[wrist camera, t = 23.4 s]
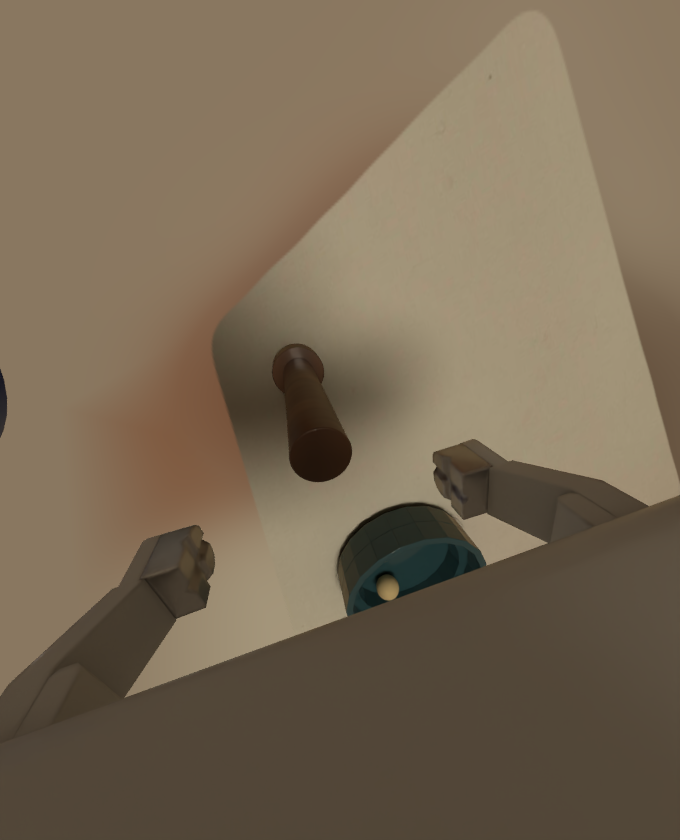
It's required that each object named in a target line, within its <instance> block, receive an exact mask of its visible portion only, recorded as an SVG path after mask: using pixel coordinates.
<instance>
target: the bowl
mask: <svg viewBox="0 0 680 840" xmlns="http://www.w3.org/2000/svg"><path fill="white" fill-rule="evenodd" d="M484 566H486V562H485V560H484V558H483V555H482V553H481V551H480V550H479V549H478V547H477V546H476V545H475V544H474V542H473V541H472V540H471V539H470V537H469V536H468V535H467V534H466V532H465V531H464V530H463V529H462V527H461V526H460V525H459V524H458V522H457V521H456V520H455V519H454V518H453V517H451V516H450V515H449V514H447V513H446V512H445V511H443V510H440V509H436V508H432V507H428V506H414V507H403V508H400V509H397V510H394V511H390V512H387V513H384V514H382V515H381V516H379V517H377V518H376V519H374V520H372V521H371V522H369V523H367V524H365V525H364V526H363V527H362V528H361V529H360V530H359V531H358V532H357V533H356V534H355V535H354V536H353V537H352V538H351V539H350V540H349V541H348V543H347V545H346V547H345V548H344V550H343V552H342V554H341V556H340V560H339V566H338V576H339V581H340V586H341V590H342V595H343V599H344V604H345V608H346V613H347V616H350V615H353V614H356V613H359V612H361V611H364V610H367V609H370V608H372V607H375V606H378V605H381V604H383V603H386V602H389V601H388V600H384V599H382V598H381V597H380V596H379V594H378V592H377V589H376V584H377V581H378V579H379V578H380V577H381V576H382V575H386V574H387V575H391V576H393V577H394V578H395V579H396V580H397V582H398V585H399V592H398V595H397V597H396V598H395V599H397V598H400V597H402V596H405V595H408V594H411V593H413V592H416V591H419V590H422V589H424V588H427V587H430V586H433V585H435V584H438V583H441V582H443V581H446V580H449V579H452V578H454V577H457V576H460V575H463V574H465V573H468V572H471V571H473V570H476V569H479V568H482V567H484ZM393 600H394V599H393ZM390 601H392V600H390Z"/></svg>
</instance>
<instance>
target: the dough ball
mask: <svg viewBox="0 0 680 840" xmlns="http://www.w3.org/2000/svg"><path fill="white" fill-rule="evenodd" d="M376 589H377V592H378V594H379V596H380V597H381V598H382V599H384V600H388V601H390V600H393V599H395V598H396V597H397V595H398V592H399V585H398V582H397V580H396V579H395V578H394V577H393V576H391V575H387V574H386V575H382V576H381V577H380V578H379V579H378V581H377V584H376Z"/></svg>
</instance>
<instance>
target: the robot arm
mask: <svg viewBox="0 0 680 840" xmlns="http://www.w3.org/2000/svg"><path fill="white" fill-rule="evenodd" d="M433 463H434V464H435V465H436V466H437V467H436V469H435V471H434V481H435V483H436V486H437V488H438V490H439V492H440V493H441V494H442V496H443V497H444V498H447V499H449V500H451V506H452V507H453V508H454V510H455V511H456V512H457V513H458V514H459V515H460V517H461V518H462V519H463V520H465V519H468V518H471V517H474V516H478V515H481V514H484V513H487V514H489V515H491V516H493V517H495V518H497V519H499V520H501V521H504V522H506V523H508V524H510V525H512V526H514V527H516V528H518V529H520V530H522V531H525V532H527V533H529V534H531V535H533V536H535V537H537V538H539V539H541V540H543V541H545V542H548V543H547V544H545V545H542V546H539V547H536V548H534V549H531V550H528V551H525V552H523V553H520V554H517V555H515V556H512V557H509V558H506V559H504V560H501V561H498V562H495V563H493V564H490V565H487V566H484V567H482V568H479V569H476V570H473V571H471V572H468V573H465V574H463V575H460V576H457V577H454V578H452V579H449V580H446V581H443V582H441V583H438V584H435V585H433V586H430V587H427V588H424V589H422V590H419V591H416V592H413V593H411V594H408V595H405V596H402V597H400V598H397V599H394V600H392V601H389V602H386V603H383V604H381V605H378V606H375V607H372V608H370V609H367V610H364V611H361V612H359V613H356V614H353V615H350V616H348V617H345V618H342V619H339V620H337V621H334V622H331V623H328V624H326V625H323V626H320V627H317V628H315V629H312V630H309V631H307V632H304V633H301V634H298V635H296V636H293V637H290V638H287V639H285V640H282V641H279V642H277V643H274V644H271V645H268V646H265V647H263V648H260V649H257V650H255V651H252V652H249V653H246V654H244V655H241V656H238V657H235V658H233V659H230V660H227V661H224V662H222V663H219V664H216V665H214V666H211V667H208V668H205V669H202V670H200V671H197V672H194V673H192V674H189V675H186V676H183V677H181V678H178V679H175V680H172V681H170V682H167V683H164V684H161V685H159V686H156V687H153V688H150V689H148V690H145V691H142V692H140V693H137V694H134V695H131V696H129V697H126V698H124V697H125V696H126V694H127V693H128V691H129V690H130V688H131V687H132V685H133V684H134V682H135V681H136V679H137V678H138V676H139V675H140V673H141V672H142V671H143V669H144V668H145V666H146V664H147V663H148V661H149V660H150V658H151V657H152V656H153V654H154V653H155V651H156V649H157V648H158V647H159V645H160V644H161V642H162V641H163V639H164V638H165V636H166V635H167V633H168V632H169V630H170V629H171V628H172V626H173V625H174V623H175V622H176V619H177V618H179V617H182V616H185V615H187V614H190V613H193V612H195V611H198V610H201V609H203V608H206V604H207V600H208V595H209V590H210V585H209V583H208V582H207V580H208V579H209V578H210V577H211V575H212V574H213V572H214V567H215V559H214V558H215V557H214V552H213V549H212V547H211V545H210V543H208V542H206V541H204V540H202V537H203V534H204V533H203V531H202V530H201V528H200V527H199V526H197V525H193V526H189V527H186V528H182V529H179V530H175V531H172V532H168V533H165V534H162V535H158V536H155V537H151V538H148V539H146V540H145V541H143V542H142V544H141V546H140V548H139V549H138V551H137V553H136V555H135V557H134V559H133V561H132V563H131V564H130V566H129V568H128V570H127V572H126V574H125V576H124V577H123V580H122V581H121V583H120V585H119V587H117V588H114V589H112V590H111V591H110V592H109V593H107V594H106V595H105V596H104V597H103V598H102V599H101V600H100V601H99V602H98V603H97V604H96V605H94V606H93V607H92V608H91V609H90V610H89V611H88V612H87V613H86V614H85V615H84V616H82V617H81V618H80V619H79V620H78V621H77V622H76V623H75V624H74V625H73V626H72V627H71V628H69V629H68V630H67V631H66V632H65V633H64V634H63V635H62V636H61V637H60V638H59V639H57V640H56V641H55V642H54V643H53V644H52V645H51V646H50V647H49V648H48V649H47V650H45V651H44V652H43V654H41V655H40V656H39V657H38V658H37V659H36V660H35V661H34V662H32V663H31V664H30V665H29V666H28V667H27V668H26V669H25V670H24V671H23V672H22V673H21V674H19V675H18V676H17V677H16V678H15V679H14V680H13V681H12V682H11V683H10V684H9V685H8V686H7V688H6V689H5V690H4V692H3V693H2V695H1V696H0V840H680V495H679V496H676V497H674V498H671V499H668V500H665V501H663V502H660V503H657V504H654V505H652V506H648V505H646V504H644V503H642V502H640V501H639V500H637V499H635V498H633V497H631V496H630V495H628V494H626V493H624V492H622V491H620V490H619V489H617V488H615V487H613V486H611V485H610V484H608V483H606V482H604V481H602V480H598V479H593V478H589V477H585V476H580V475H576V474H571V473H567V472H562V471H558V470H553V469H549V468H544V467H540V466H535V465H531V464H526V463H522V462H517V461H513V460H512V461H509V462H508V461H506V460H505V459H504V458H502V457H501V456H499V455H498V454H496V453H495V452H493V451H492V450H491V449H489V448H488V447H486V446H485V445H483V444H482V443H480V442H479V441H477V440H475V439H471V440H468V441H466V442H463V443H460V444H458V445H455V446H452V447H448V448H445V449H442V450H439V451H435V452H434V453H433Z"/></svg>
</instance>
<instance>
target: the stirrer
mask: <svg viewBox="0 0 680 840" xmlns="http://www.w3.org/2000/svg"><path fill="white" fill-rule="evenodd" d="M272 374H273V379H274V382H275V384H276V386H277V387H278V388H279V389H280V390H281V391H282V392H283V393H285V405H286V419H287V433H288V447H289V460H290V464H291V467H292V469H293V470H294V471H295V473H296V474H297V475H299V476H300V477H301V478H303V479H305V480H308V481H312V482H324V481H328V480H331V479H334V478H335V477H337V476H339V475H340V474H341V473H342V472H343V471H344V470H345V469H346V468H347V466H348V465H349V463H350V460H351V456H352V447H351V444H350V441H349V439H348V437H347V435H346V433H345V431H344V429H343V427H342V425H341V423H340V421H339V419H338V417H337V415H336V413H335V411H334V409H333V407H332V405H331V403H330V401H329V399H328V397H327V395H326V393H325V391H324V389H323V387H322V385H321V383H322V381H323V377H324V368H323V364H322V362H321V360H320V358H319V357H318V355H317V354H316V353H315V352H314V351H313V350H312V349H311V348H310V347H308V346H306V345H303V344H290V345H287V346H285V347H284V348H282V349H281V350H280V351H279V352H278V353H277V354H276V356H275V358H274V361H273V370H272Z"/></svg>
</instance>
